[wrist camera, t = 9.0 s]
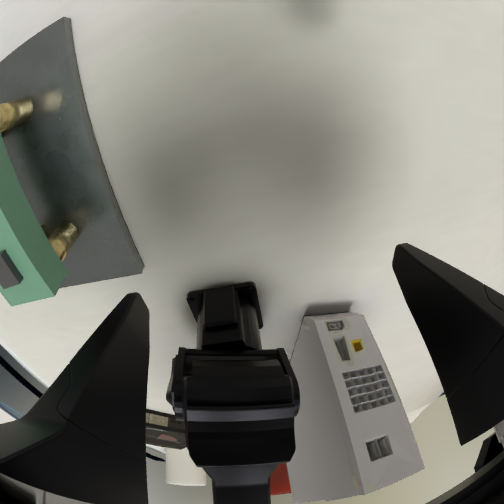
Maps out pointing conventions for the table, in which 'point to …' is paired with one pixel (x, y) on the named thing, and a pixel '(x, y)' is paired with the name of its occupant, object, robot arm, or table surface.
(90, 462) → the robot arm
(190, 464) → the cup
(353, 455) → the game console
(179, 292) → the table surface
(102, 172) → the chassis plate
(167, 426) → the portable cd player
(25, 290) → the circuit board
